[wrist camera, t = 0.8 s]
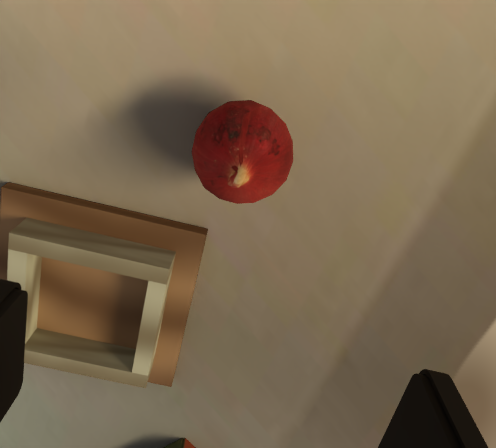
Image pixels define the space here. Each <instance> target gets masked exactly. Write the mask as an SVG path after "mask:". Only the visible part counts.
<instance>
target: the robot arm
mask: <svg viewBox="0 0 496 448" xmlns="http://www.w3.org/2000/svg"><path fill="white" fill-rule="evenodd" d="M27 304H28V293H27V291H24V290H21V285H20V283H18V282H13V281H8V280H3V279H0V422H1V420H2V419H3V417H4V416H5V414H6V413H7V411H8V410H9V408H10V407H11V405H12V403H13V402H14V400H15V399H16V397H17V396H18V394H19V392H20V389H21V386H22V382H23V371H24V354H25V337H26V321H27ZM378 448H488V446H487V444H486V443H485V441H484V439H483V437H482V435H481V433H480V431H479V429H478V428H477V426H476V424H475V422H474V420H473V418H472V416H471V414H470V413H469V411H468V409H467V407H466V405H465V403H464V401H463V399H462V398H461V396H460V394H459V392H458V390H457V388H456V386H455V384H454V382H453V381H452V379H451V377H450V376H449V375H448V374H445V373H441V372H436V371H431V370H427V369H424V370H422V371H421V372H420V373H419V374H414V375H413V376H412V378H411V380H410V382H409V384H408V386H407V388H406V390H405V392H404V394H403V396H402V398H401V401H400V403H399V405H398V407H397V409H396V411H395V413H394V415H393V417H392V419H391V421H390V424H389V426H388V428H387V430H386V432H385V434H384V436H383V438H382V440H381V442H380V444H379V447H378Z"/></svg>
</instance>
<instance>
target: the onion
mask: <svg viewBox="0 0 496 448" xmlns="http://www.w3.org/2000/svg"><path fill="white" fill-rule="evenodd" d="M192 156H193V161H194V167H195V171H196V173H197V175H198V177H199V179H200V181H201V182H202V184H203V186H204V188H205V189H207V190H208V191H210V192H211V193H212V194H214V195H215V196H216V197H218V198H219V199H222V200H226V201H229V202H233V203H237V204H238V203H254V202H257V201H259V200H261V199H263V198H266V197H268V196H270V195H272V194H273V193H274V192H275V191H276V190H277V189H278V188H279V187H280V186H281V185H282V184H283V183H284V182H285V181H286V179H287V177H288V174H289V171H290V168H291V166H292V163H293V142H292V139H291V136H290V134H289V131H288V128H287V126H286V124H285V123H284V122H283V121H282V120H281V119H280V118H279V117H278V116H277V115H276V114H275V113H274V112H273V111H272V110H271V109H270V108H268V107H266V106H263V105H261V104H259V103H256V102H254V101H252V100H246V101H230V102H227V103H225V104H223V105H222V106H220V107H218V108H216V109H214V110H213V111H211V112H209V113H208V114H207V116H206V117H205V119H204V120H203V122H202V123H201V125H200V126H199V128H198V129H197V131H196V135H195V139H194V144H193V148H192Z"/></svg>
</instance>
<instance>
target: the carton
mask: <svg viewBox="0 0 496 448" xmlns="http://www.w3.org/2000/svg"><path fill="white" fill-rule="evenodd" d="M164 448H195V447H194V446H193V445H192V444H191V443H190V442H189V441H188V440H187V439H186V438H184V439H183V438H181V439H179V440H177V441H176V442H174V443H172V444H170V445H168V446H166V447H164Z"/></svg>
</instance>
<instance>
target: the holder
mask: <svg viewBox="0 0 496 448" xmlns="http://www.w3.org/2000/svg"><path fill="white" fill-rule="evenodd" d="M207 231H208V229H206V228H202V227H197V226H193V225H189V224H185V223H180V222H176V221H172V220H168V219H163V218H159V217H155V216H151V215H146V214H142V213H138V212H133V211H129V210H125V209H121V208H116V207H112V206H108V205H104V204H99V203H95V202H91V201H87V200H82V199H78V198H74V197H69V196H65V195H61V194H57V193H52V192H48V191H44V190H40V189H35V188H31V187H27V186H23V185H18V184H14V183H10V182H8V183H7V184H5V185H4V186H2V187H1V210H0V279H3V280H8V281H13V282H18V283H20V285H21V290H24V291H27V293H28V304H27V321H26V337H25V354H24V363H28V364H32V365H37V366H42V367H47V368H52V369H56V370H61V371H66V372H71V373H75V374H80V375H85V376H90V377H95V378H99V379H104V380H109V381H114V382H119V383H123V384H128V385H133V386H138V387H143V388H146V385H147V382H151V383H155V384H160V385H165V386H170V387H171V386H172V382H173V378H174V374H175V369H176V365H177V361H178V356H179V352H180V348H181V343H182V339H183V335H184V330H185V326H186V322H187V317H188V313H189V309H190V305H191V300H192V296H193V292H194V287H195V283H196V279H197V274H198V270H199V266H200V261H201V257H202V253H203V248H204V244H205V240H206V235H207Z"/></svg>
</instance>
